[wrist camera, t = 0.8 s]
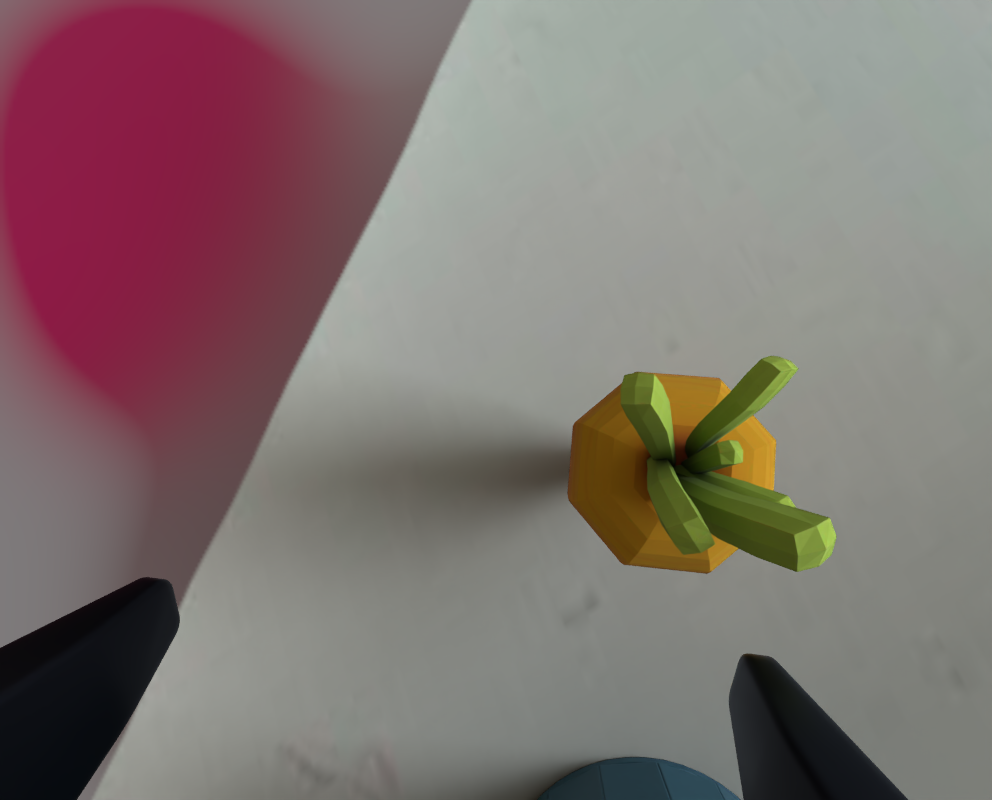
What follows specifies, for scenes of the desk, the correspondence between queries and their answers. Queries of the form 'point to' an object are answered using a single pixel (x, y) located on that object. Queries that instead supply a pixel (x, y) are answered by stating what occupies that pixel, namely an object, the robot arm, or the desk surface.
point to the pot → (637, 782)
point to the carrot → (690, 474)
